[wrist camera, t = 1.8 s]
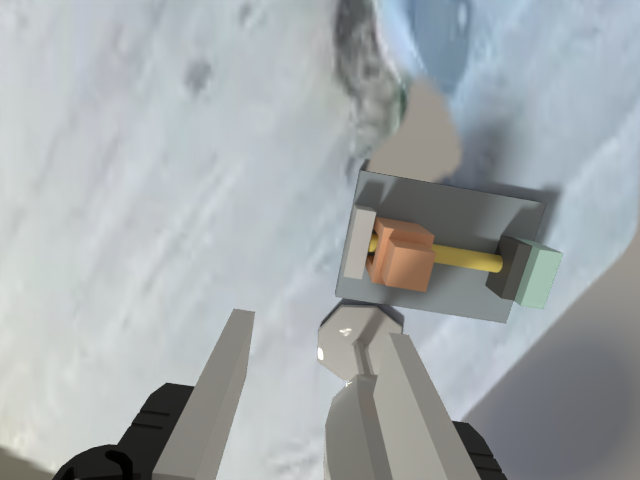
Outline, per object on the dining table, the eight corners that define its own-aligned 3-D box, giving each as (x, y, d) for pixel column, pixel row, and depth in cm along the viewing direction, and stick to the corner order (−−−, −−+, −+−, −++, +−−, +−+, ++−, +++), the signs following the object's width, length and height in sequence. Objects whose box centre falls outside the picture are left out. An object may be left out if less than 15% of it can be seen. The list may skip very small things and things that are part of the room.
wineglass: (303, 362, 37) (290, 631, 16) (334, 289, 35) (363, 492, 14) (380, 387, 38) (458, 671, 17) (415, 317, 36) (550, 545, 15)
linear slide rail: (359, 169, 32) (367, 173, 27) (539, 201, 33) (578, 211, 28) (335, 292, 35) (338, 316, 30) (500, 318, 36) (529, 345, 31)
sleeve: (374, 216, 31) (391, 234, 25) (418, 223, 32) (445, 244, 25) (364, 264, 33) (377, 294, 26) (406, 271, 33) (429, 302, 26)
